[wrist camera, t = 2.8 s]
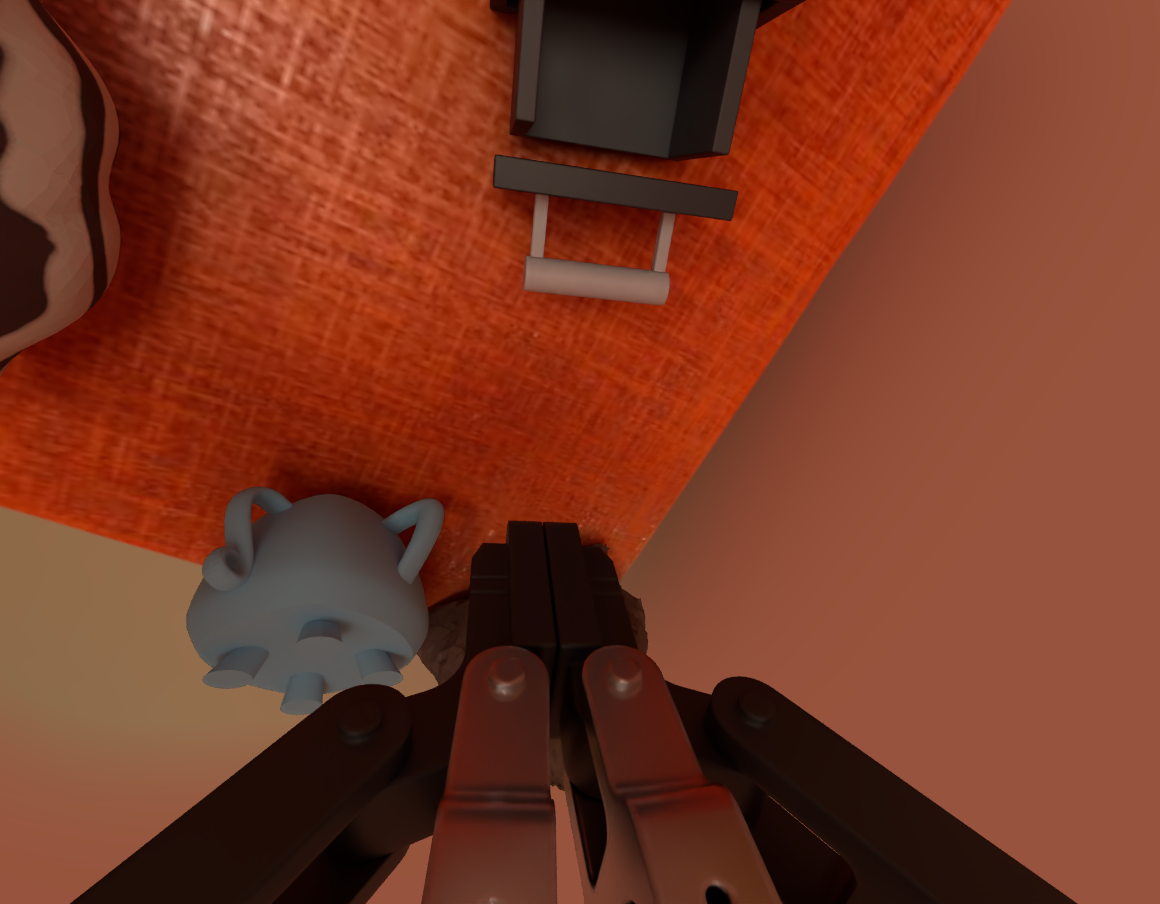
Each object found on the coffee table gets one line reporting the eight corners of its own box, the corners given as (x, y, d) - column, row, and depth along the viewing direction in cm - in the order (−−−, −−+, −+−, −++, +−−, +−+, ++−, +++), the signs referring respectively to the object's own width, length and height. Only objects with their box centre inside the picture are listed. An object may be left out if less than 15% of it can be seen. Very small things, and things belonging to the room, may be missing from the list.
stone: (619, 520, 39) (666, 615, 43) (425, 564, 45) (484, 643, 49) (588, 701, 27) (656, 806, 32) (332, 728, 33) (419, 812, 38)
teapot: (446, 630, 27) (452, 468, 35) (96, 614, 23) (193, 430, 30) (408, 727, 35) (419, 577, 43) (142, 730, 31) (209, 561, 38)
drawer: (663, 290, 33) (709, 319, 26) (488, 270, 31) (486, 295, 24) (732, -75, 26) (820, -170, 19) (510, -130, 24) (517, -258, 17)
